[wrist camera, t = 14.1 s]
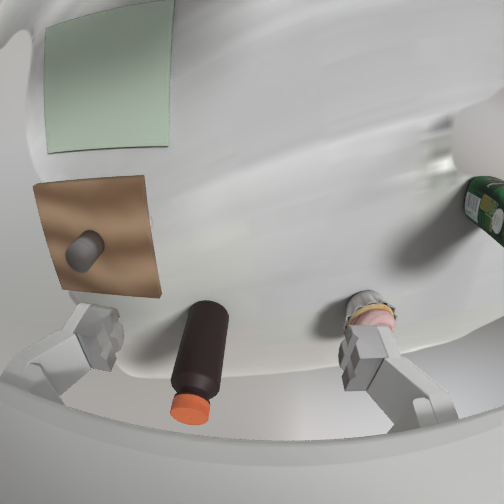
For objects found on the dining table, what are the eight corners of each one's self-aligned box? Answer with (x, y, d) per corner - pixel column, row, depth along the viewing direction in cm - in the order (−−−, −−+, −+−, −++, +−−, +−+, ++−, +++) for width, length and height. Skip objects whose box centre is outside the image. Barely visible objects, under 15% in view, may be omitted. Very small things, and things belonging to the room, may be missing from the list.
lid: (37, 183, 32) (13, 198, 27) (144, 175, 31) (126, 190, 27) (65, 285, 40) (49, 306, 35) (161, 293, 39) (151, 319, 35)
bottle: (188, 324, 53) (162, 421, 36) (191, 295, 49) (162, 398, 32) (225, 332, 53) (212, 432, 36) (232, 304, 50) (219, 410, 33)
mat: (48, 28, 27) (46, 28, 27) (174, 0, 27) (173, -1, 27) (49, 152, 37) (48, 153, 37) (169, 145, 37) (168, 145, 37)
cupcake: (338, 328, 52) (348, 372, 44) (336, 287, 48) (349, 332, 39) (387, 319, 51) (404, 360, 42) (390, 277, 46) (412, 318, 38)
